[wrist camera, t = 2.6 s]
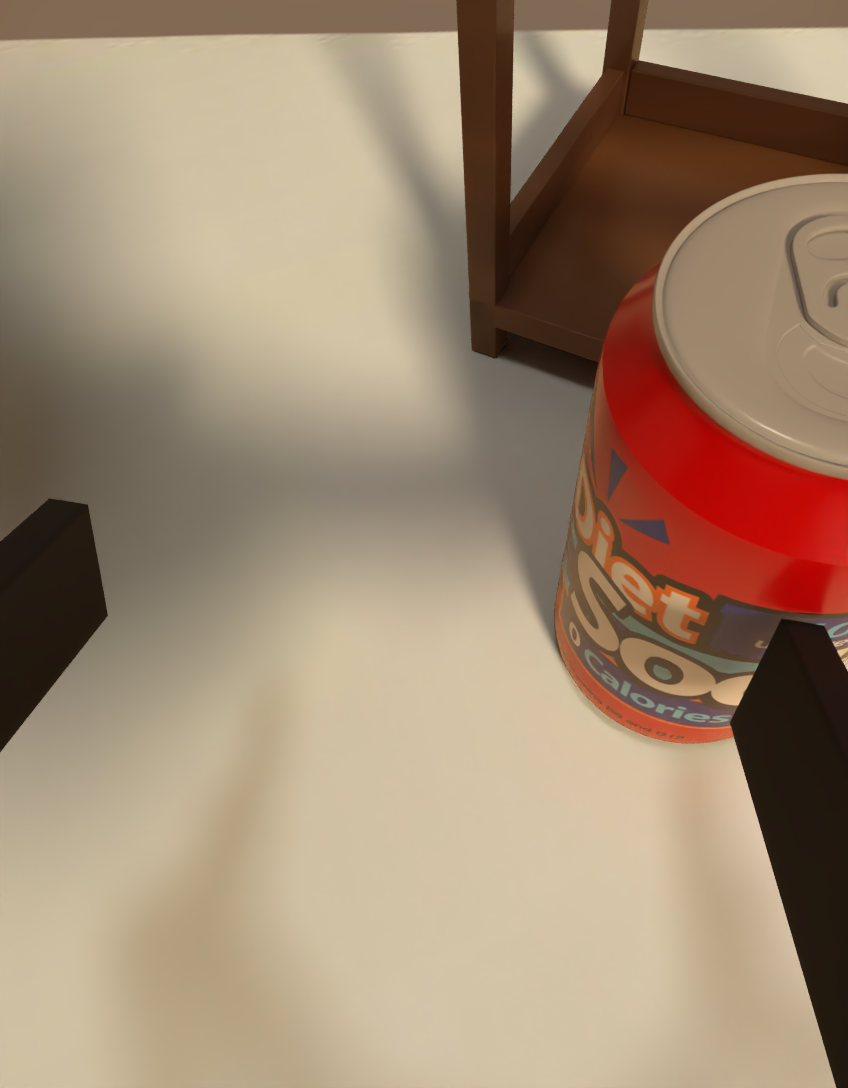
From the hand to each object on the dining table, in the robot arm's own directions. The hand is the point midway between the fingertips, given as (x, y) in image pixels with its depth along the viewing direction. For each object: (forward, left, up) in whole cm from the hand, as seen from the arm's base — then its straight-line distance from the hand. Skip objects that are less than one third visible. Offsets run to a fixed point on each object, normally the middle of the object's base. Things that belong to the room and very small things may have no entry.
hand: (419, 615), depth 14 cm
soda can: (0, +8, -11) cm, 14 cm away
